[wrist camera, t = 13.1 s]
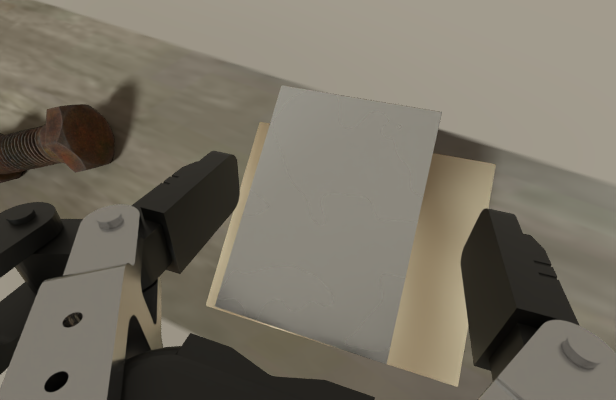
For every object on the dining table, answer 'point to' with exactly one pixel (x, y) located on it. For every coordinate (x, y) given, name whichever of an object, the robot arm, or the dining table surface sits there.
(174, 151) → the dining table surface
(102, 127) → the bolt
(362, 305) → the tall grey square pillar
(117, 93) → the dining table surface
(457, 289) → the open beige box
